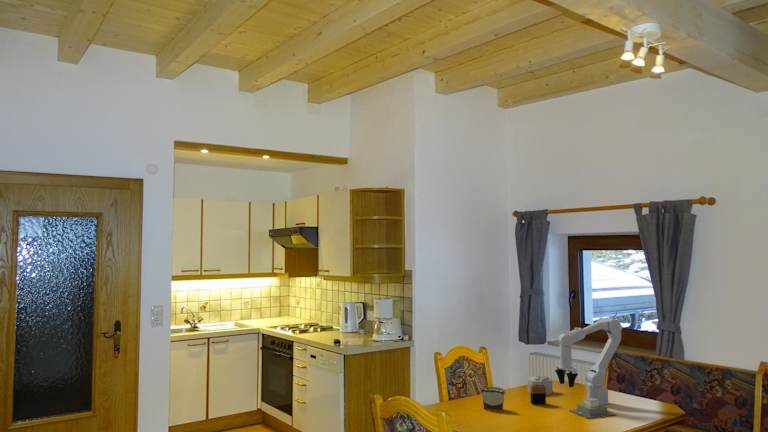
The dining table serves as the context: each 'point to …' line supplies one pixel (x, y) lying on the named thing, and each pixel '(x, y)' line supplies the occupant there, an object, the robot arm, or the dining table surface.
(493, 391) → the food container
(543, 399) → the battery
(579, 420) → the dining table surface
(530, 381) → the lumpy-topped squat cylinder
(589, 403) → the plug
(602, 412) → the socket dock
